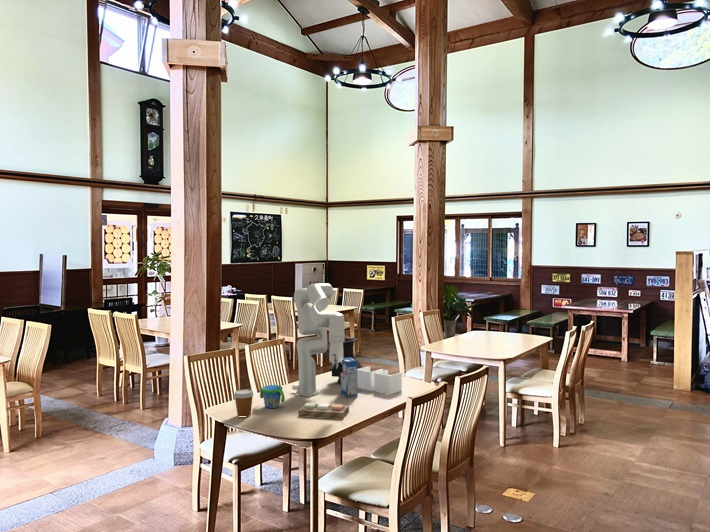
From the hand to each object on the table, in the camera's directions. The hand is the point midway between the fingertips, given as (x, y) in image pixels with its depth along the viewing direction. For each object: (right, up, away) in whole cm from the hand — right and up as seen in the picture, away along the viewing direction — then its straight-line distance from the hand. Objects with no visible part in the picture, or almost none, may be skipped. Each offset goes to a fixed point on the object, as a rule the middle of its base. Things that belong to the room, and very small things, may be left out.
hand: (337, 374), depth 266 cm
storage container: (+22, -19, +48) cm, 56 cm away
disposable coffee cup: (-46, -21, +1) cm, 50 cm away
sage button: (-13, -18, +4) cm, 23 cm away
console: (-7, -20, +2) cm, 21 cm away
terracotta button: (0, -18, 0) cm, 18 cm away
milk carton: (+5, -19, +36) cm, 41 cm away
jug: (+3, -18, +67) cm, 69 cm away
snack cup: (-34, -20, +16) cm, 43 cm away
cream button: (-7, -18, +2) cm, 19 cm away
